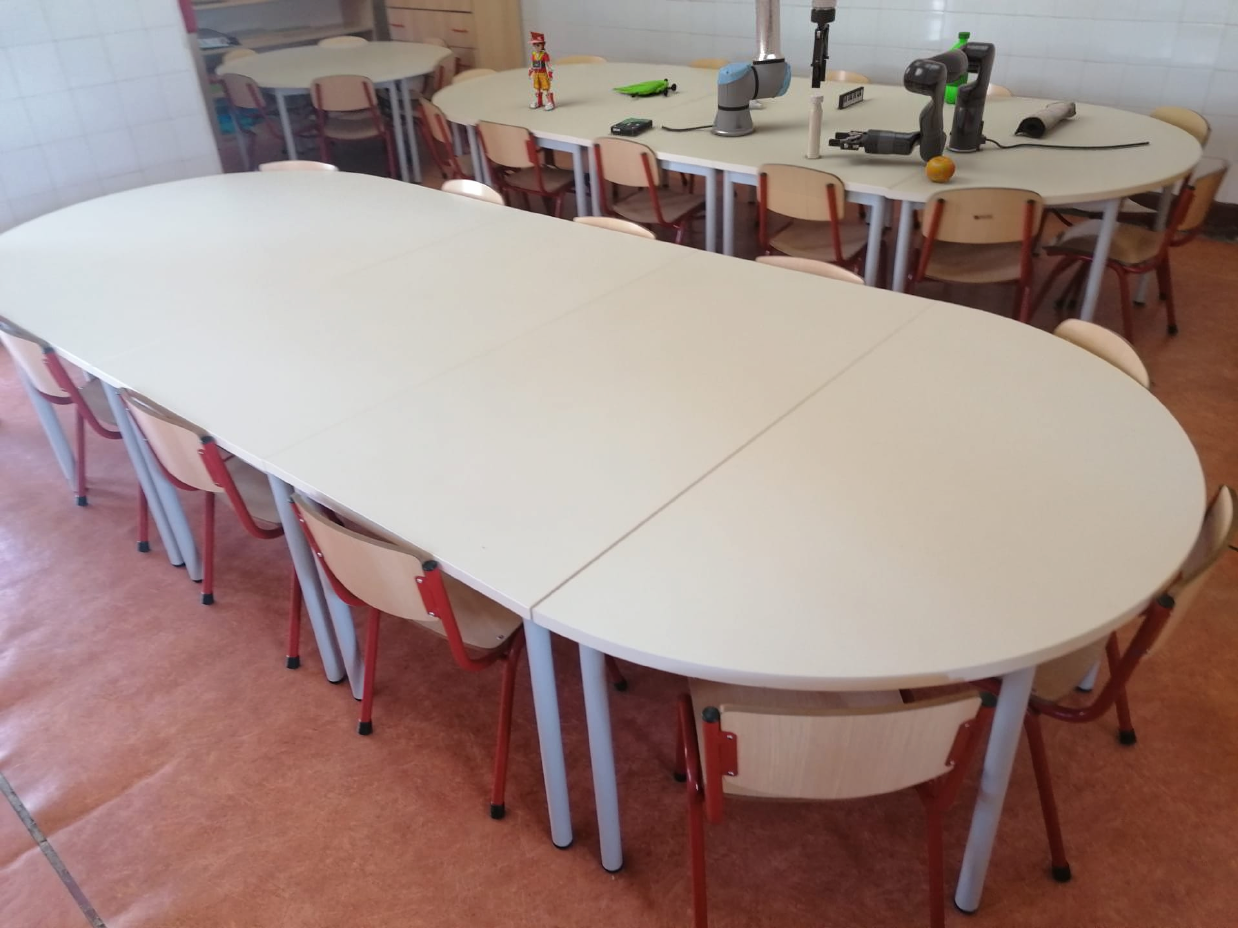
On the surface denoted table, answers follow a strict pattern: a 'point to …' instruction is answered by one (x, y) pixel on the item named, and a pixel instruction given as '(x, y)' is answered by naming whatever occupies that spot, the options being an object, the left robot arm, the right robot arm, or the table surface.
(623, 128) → the disk drive
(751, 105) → the anatomical model
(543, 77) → the toy
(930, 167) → the fruit
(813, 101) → the cap
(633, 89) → the toy
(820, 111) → the bottle
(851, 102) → the midi keyboard
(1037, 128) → the rolled mat
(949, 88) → the plastic bottle
